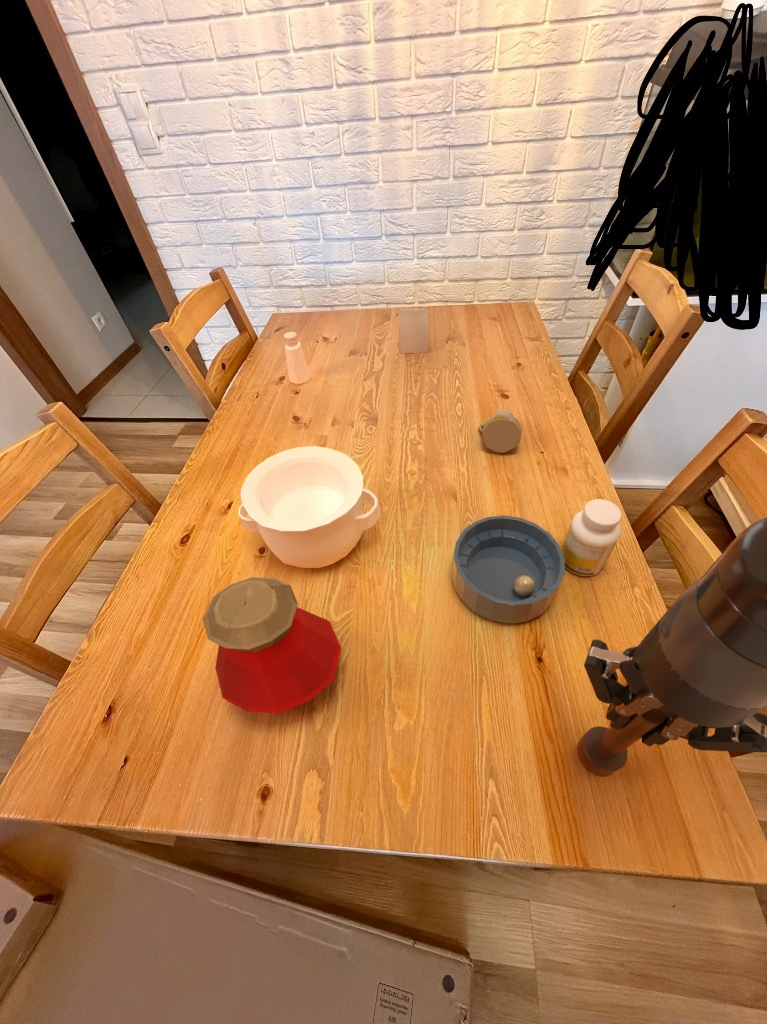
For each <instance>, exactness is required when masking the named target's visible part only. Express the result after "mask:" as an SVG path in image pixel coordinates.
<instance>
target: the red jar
mask: <svg viewBox="0 0 767 1024" xmlns="http://www.w3.org/2000/svg"><path fill="white" fill-rule="evenodd" d="M298 605H299V602H298V600H297V598H296V595H295V593H294V590H293V588H292V586H291V584H289V583H287V582H284V581H282V580H279V579H277V578H276V577H261V576H252V577H249V578H245V579H243V580H240V581H237V582H234V583H231V584H229V585H228V586H226V587H225V588H223V589H222V590H220V591H219V592H217V593H216V594H215V595H214V596H212V598H211V600H210V602H209V604H208V607H207V609H206V611H205V613H204V615H203V618H202V621H203V625H204V629H205V633H206V637H207V640H208V641H211V642H212V643H214V644H217V645H218V649H217V655H216V660H215V666H214V667H215V673H216V677H217V682H218V685H219V690H220V693H221V697H222V699H223V700H225V701H227V702H228V703H230V704H232V705H234V706H236V707H238V708H240V709H241V710H243V711H245V712H251V713H263V714H275V715H276V714H277V715H279V714H282V713H283V712H286V711H288V710H291V709H293V708H297V707H298V706H301V705H303V704H305V703H309V702H310V701H312V700H313V699H314V698H315V697H317V695H318V694H320V693H321V692H322V691H323V690H324V689H326V687H328V686H329V685H330V684H331V683H332V682H333V681H334V680H335V677H336V673H337V668H338V664H339V660H340V655H341V652H342V651H341V650H342V646H341V643H340V641H339V639H338V637H337V634H336V632H335V630H334V628H333V626H332V623H331V621H330V620H328V619H326V618H323V617H321V616H319V615H317V614H315V613H311V612H310V611H308V610H305V609H303V608H300V607H298Z"/></svg>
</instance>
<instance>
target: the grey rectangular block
mask: <svg viewBox="0 0 767 1024" xmlns="http://www.w3.org/2000/svg"><path fill="white" fill-rule="evenodd" d="M398 313H399V314H398V316H399V318H398V319H399V347H400V348H399V349H400V354H403V355H405V354H424V353H426V354H427V353H429V327H430V326H429V323H430V321H429V319H430V318H429V308H428V307H425V308H405V309H399V310H398Z"/></svg>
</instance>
